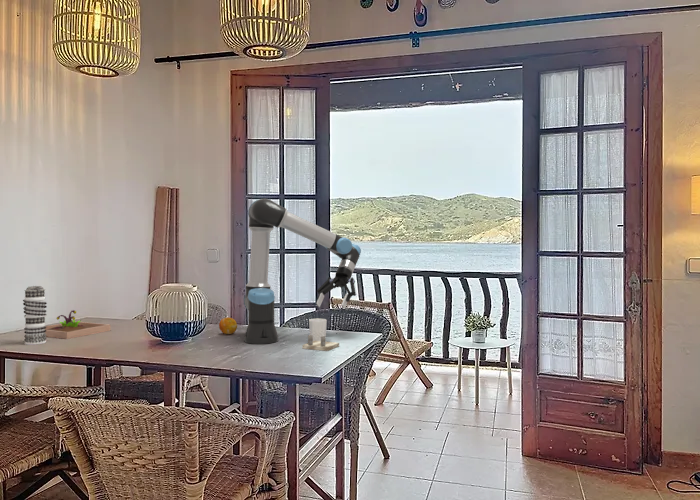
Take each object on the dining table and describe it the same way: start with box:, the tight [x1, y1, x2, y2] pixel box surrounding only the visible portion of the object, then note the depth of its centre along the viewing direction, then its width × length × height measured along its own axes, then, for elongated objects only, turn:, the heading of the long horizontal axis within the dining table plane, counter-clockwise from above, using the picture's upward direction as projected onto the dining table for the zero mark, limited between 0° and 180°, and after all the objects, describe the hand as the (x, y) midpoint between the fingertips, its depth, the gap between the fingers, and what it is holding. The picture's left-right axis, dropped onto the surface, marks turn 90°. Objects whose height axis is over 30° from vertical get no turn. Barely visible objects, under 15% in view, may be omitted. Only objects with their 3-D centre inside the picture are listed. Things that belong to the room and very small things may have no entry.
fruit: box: [218, 316, 238, 335], centre depth 271 cm, size 8×9×8 cm
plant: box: [47, 309, 92, 332], centre depth 275 cm, size 20×20×11 cm
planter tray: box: [45, 320, 111, 340], centre depth 274 cm, size 25×25×3 cm
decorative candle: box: [22, 285, 48, 346], centre depth 248 cm, size 9×9×25 cm
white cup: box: [308, 318, 328, 341], centre depth 251 cm, size 8×8×10 cm
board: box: [302, 334, 340, 352], centre depth 239 cm, size 12×11×6 cm
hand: (330, 306), depth 260 cm, fingers open, 13 cm apart
